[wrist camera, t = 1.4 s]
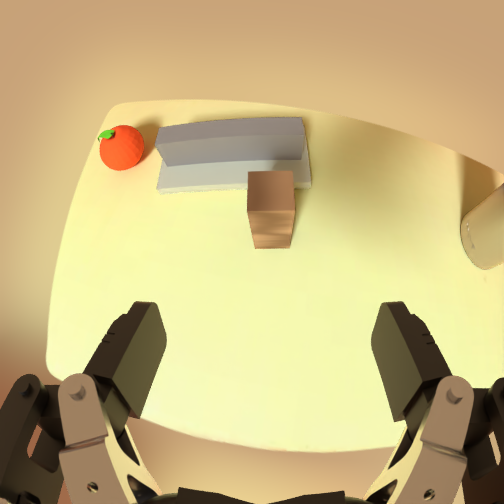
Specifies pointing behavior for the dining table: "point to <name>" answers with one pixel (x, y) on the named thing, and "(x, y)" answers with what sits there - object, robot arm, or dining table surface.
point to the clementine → (121, 147)
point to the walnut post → (271, 208)
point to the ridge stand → (230, 153)
